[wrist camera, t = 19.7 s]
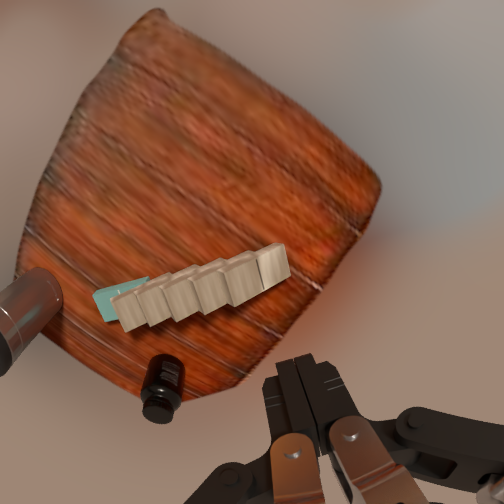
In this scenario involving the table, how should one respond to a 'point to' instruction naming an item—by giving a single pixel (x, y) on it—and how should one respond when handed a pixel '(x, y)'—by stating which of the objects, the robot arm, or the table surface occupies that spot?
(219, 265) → the domino
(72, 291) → the table surface
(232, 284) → the domino
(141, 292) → the domino
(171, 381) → the supplement bottle
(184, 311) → the domino
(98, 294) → the domino
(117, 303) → the domino
